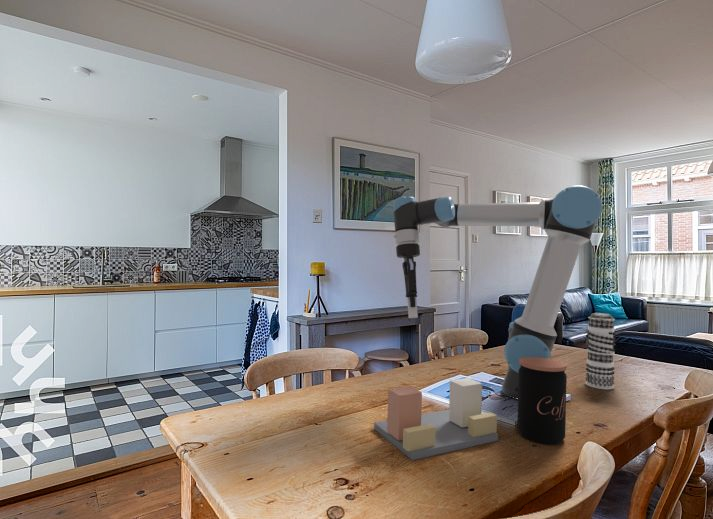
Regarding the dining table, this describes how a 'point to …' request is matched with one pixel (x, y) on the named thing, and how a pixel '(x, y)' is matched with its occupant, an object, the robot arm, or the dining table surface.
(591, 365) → the white patterned cylinder
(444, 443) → the board
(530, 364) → the coffee jar
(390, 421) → the terracotta key
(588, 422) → the dining table surface
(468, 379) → the cream key
